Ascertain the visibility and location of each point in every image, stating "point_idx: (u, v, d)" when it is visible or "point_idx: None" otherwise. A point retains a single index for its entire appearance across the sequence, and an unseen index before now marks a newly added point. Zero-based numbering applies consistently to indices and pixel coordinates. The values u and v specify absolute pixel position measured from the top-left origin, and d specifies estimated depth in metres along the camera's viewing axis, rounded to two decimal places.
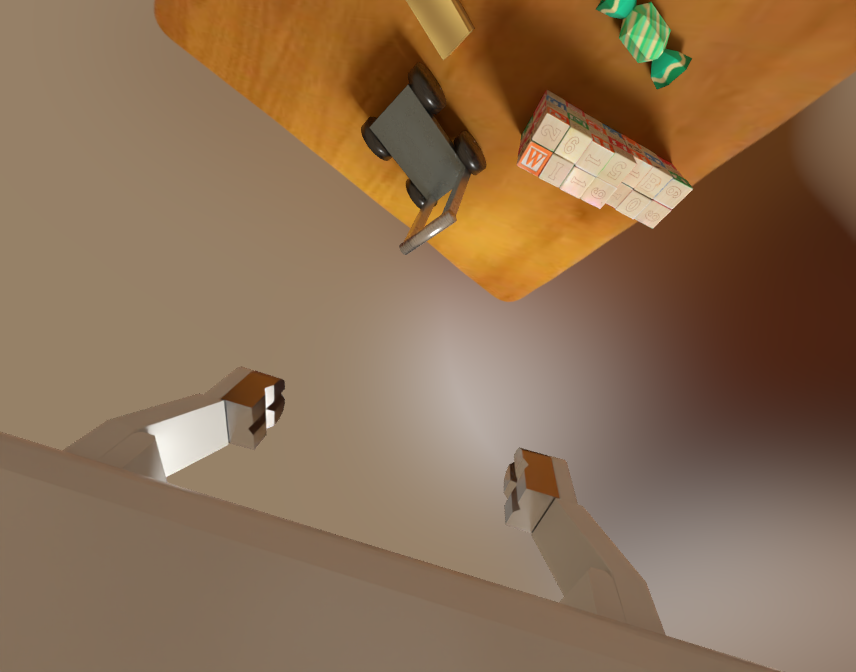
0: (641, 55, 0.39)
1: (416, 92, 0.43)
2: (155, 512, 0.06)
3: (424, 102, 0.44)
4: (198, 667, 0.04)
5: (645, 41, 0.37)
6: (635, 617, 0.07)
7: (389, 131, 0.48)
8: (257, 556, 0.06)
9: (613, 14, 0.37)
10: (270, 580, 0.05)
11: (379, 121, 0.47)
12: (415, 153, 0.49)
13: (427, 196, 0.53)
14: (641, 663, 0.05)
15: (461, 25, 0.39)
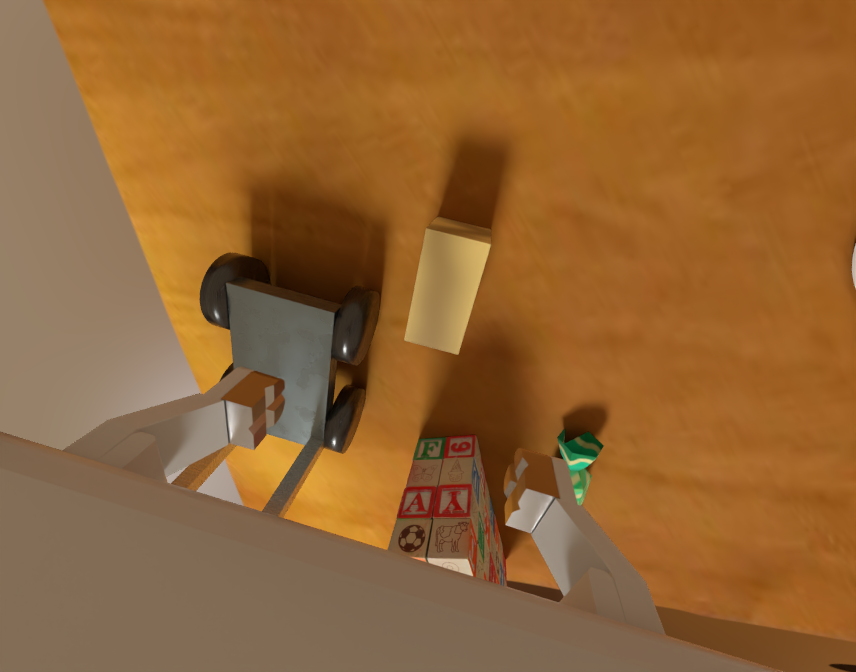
0: None
1: (336, 333, 0.23)
2: (154, 511, 0.06)
3: (336, 351, 0.24)
4: (198, 668, 0.04)
5: None
6: (635, 617, 0.07)
7: (254, 318, 0.24)
8: (257, 556, 0.06)
9: (565, 460, 0.30)
10: (270, 580, 0.05)
11: (250, 294, 0.23)
12: (270, 371, 0.26)
13: None
14: (641, 663, 0.05)
15: (457, 341, 0.23)
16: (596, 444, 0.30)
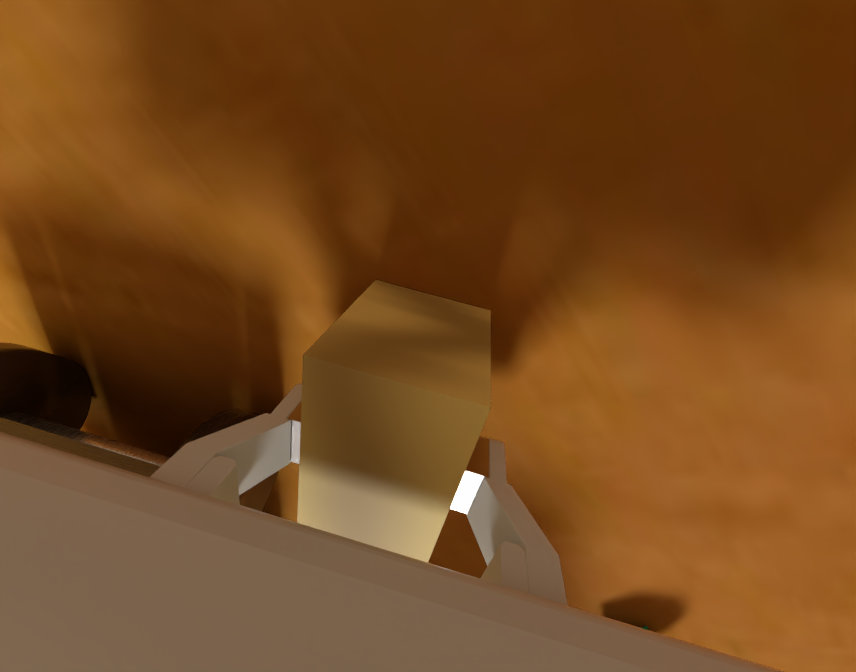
0: None
1: None
2: (154, 512, 0.06)
3: None
4: (198, 666, 0.04)
5: None
6: (540, 588, 0.07)
7: None
8: (257, 556, 0.06)
9: None
10: (270, 580, 0.05)
11: None
12: None
13: None
14: (641, 663, 0.05)
15: None
16: None
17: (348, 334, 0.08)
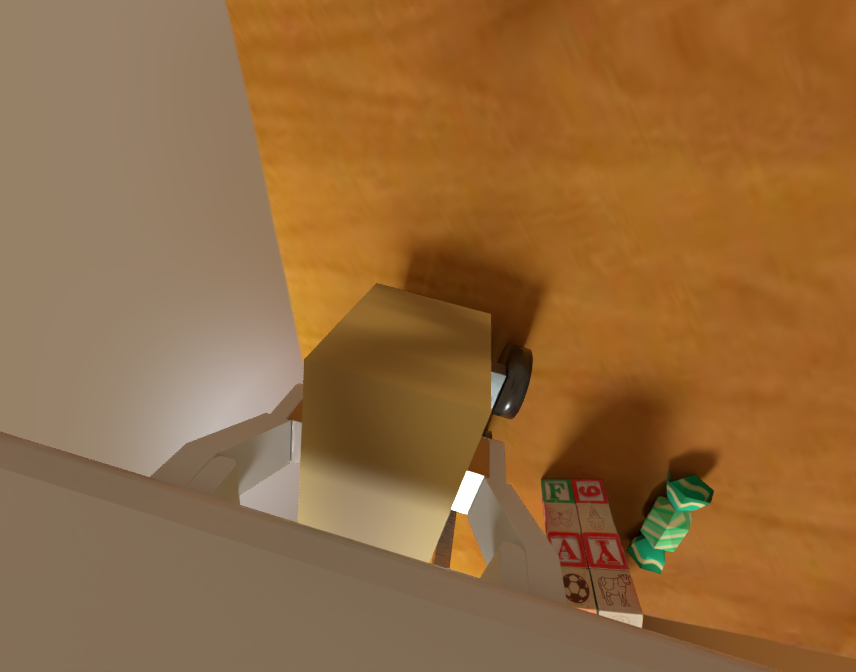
0: (652, 540, 0.34)
1: (506, 394, 0.25)
2: (154, 512, 0.06)
3: (501, 409, 0.26)
4: (199, 668, 0.04)
5: (667, 540, 0.33)
6: (540, 588, 0.07)
7: None
8: (257, 556, 0.06)
9: (673, 501, 0.32)
10: (270, 580, 0.05)
11: None
12: None
13: None
14: (641, 663, 0.05)
15: None
16: (704, 487, 0.31)
17: (349, 338, 0.08)
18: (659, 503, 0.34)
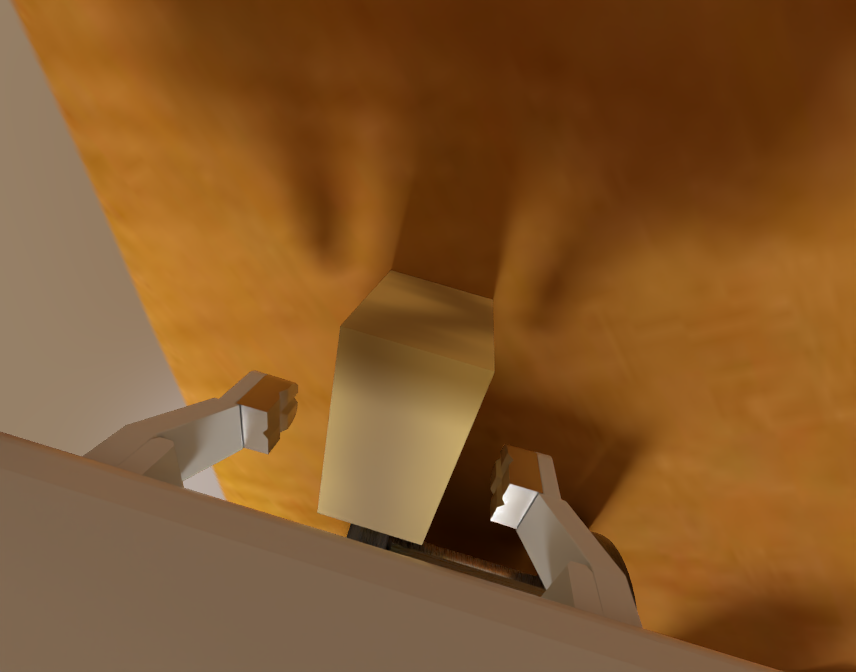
0: None
1: None
2: (154, 512, 0.06)
3: None
4: (198, 667, 0.04)
5: None
6: (613, 610, 0.07)
7: None
8: (257, 556, 0.06)
9: None
10: (270, 580, 0.05)
11: None
12: None
13: None
14: (641, 663, 0.05)
15: (419, 526, 0.12)
16: None
17: (374, 312, 0.09)
18: None
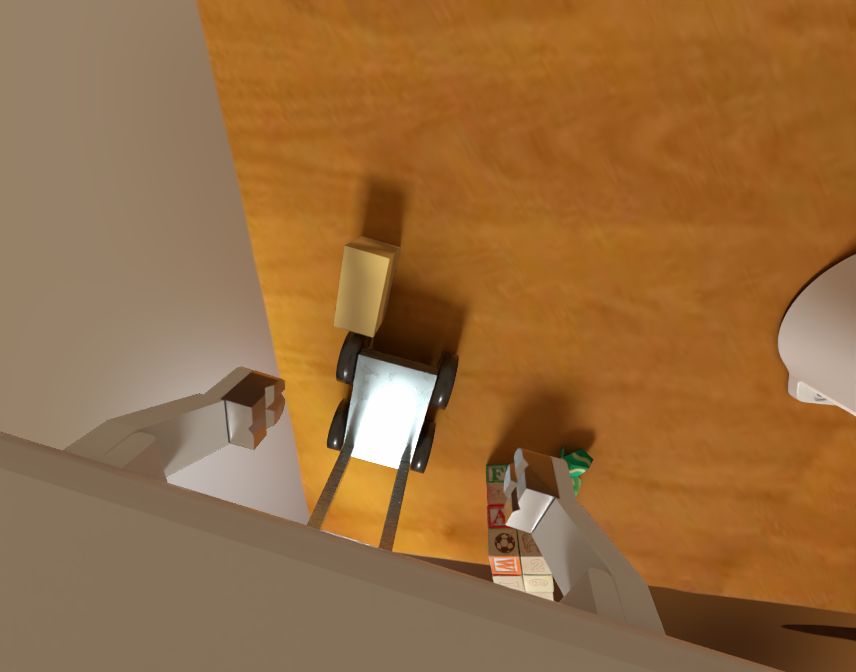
0: None
1: (437, 390, 0.33)
2: (155, 512, 0.06)
3: (435, 401, 0.34)
4: (198, 667, 0.04)
5: None
6: (635, 617, 0.07)
7: (375, 378, 0.34)
8: (257, 556, 0.06)
9: None
10: (270, 580, 0.05)
11: (375, 362, 0.33)
12: (378, 414, 0.36)
13: (347, 446, 0.38)
14: (641, 663, 0.05)
15: (372, 327, 0.32)
16: (587, 458, 0.41)
17: (354, 244, 0.30)
18: None
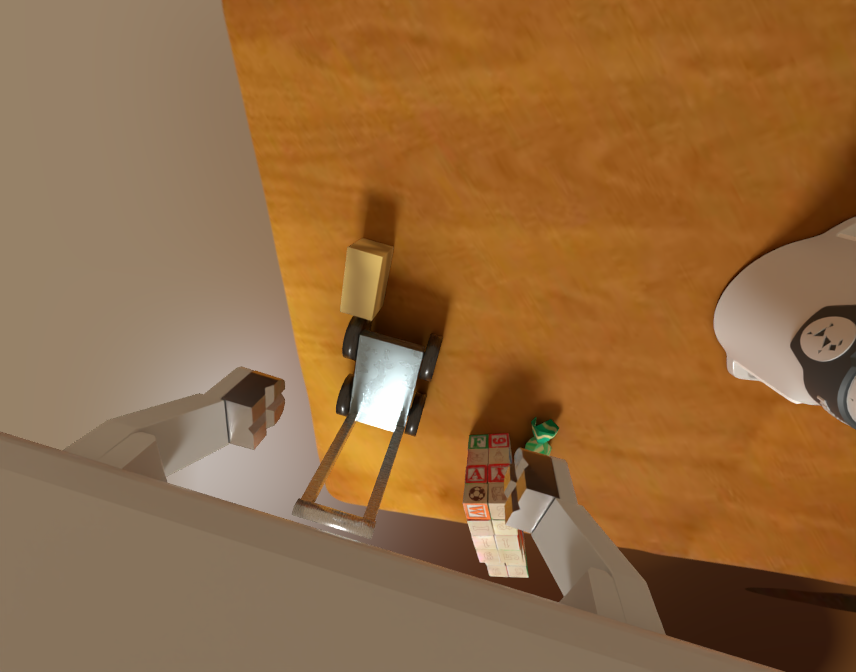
0: None
1: (424, 364, 0.40)
2: (155, 512, 0.06)
3: (422, 374, 0.41)
4: (198, 667, 0.04)
5: None
6: (635, 617, 0.07)
7: (373, 354, 0.41)
8: (257, 556, 0.06)
9: (535, 436, 0.47)
10: (270, 580, 0.05)
11: (373, 341, 0.40)
12: (377, 384, 0.43)
13: (352, 412, 0.46)
14: (641, 663, 0.05)
15: (370, 312, 0.39)
16: (555, 427, 0.47)
17: (355, 245, 0.37)
18: (530, 440, 0.49)
